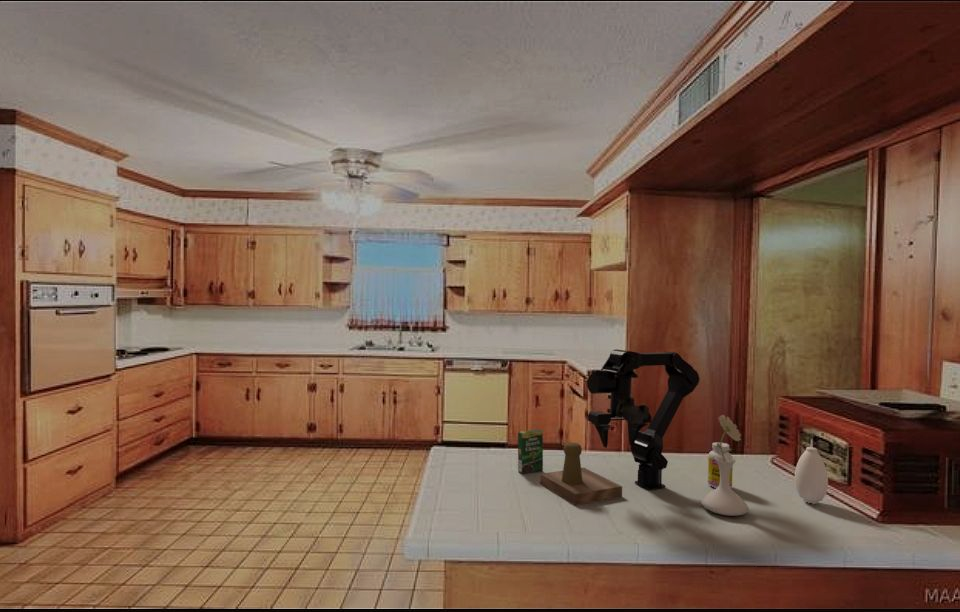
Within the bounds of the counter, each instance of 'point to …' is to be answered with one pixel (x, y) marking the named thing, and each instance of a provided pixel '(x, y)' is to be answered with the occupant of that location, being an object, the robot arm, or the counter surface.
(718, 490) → the flower in vase
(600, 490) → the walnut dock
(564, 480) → the cork
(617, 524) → the counter surface
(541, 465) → the coffee box
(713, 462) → the supplement bottle
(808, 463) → the sauce bottle
